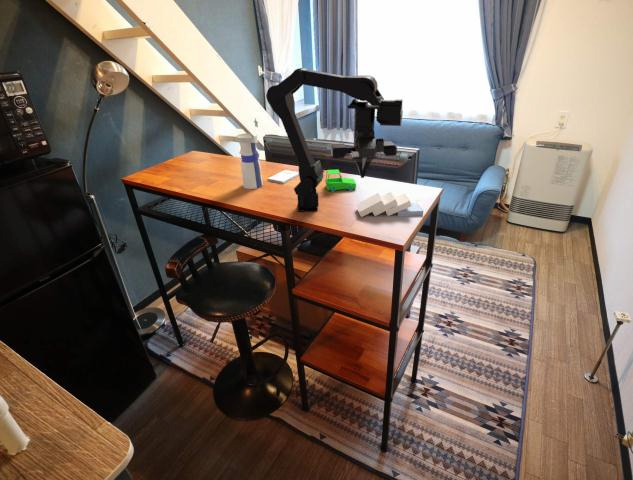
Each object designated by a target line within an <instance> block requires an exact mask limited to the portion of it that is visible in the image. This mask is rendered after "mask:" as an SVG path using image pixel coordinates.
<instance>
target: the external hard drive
mask: <svg viewBox="0 0 633 480" xmlns="http://www.w3.org/2000/svg"><path fill="white" fill-rule="evenodd" d="M297 177H299V171H294V170H289V169H285V170H282V171H280V172H278V173H276V174H273V175H272V176H269V177H268V178H267V179H266V180H267V182H272V183H277V184H281V185H284V184H286V183H288V182H290V181H292V180H293V179H295V178H297Z"/></svg>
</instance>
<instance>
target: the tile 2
mask: <svg viewBox="0 0 633 480" xmlns="http://www.w3.org/2000/svg"><path fill="white" fill-rule="evenodd" d="M380 198H381V200H382V202H383V204H384V206H382V207H380V208H378V209H377V210H375V211H373V212H372V214H373V215H374V217H377V216H379V215H380V214H382V213H384V212H385V211H386V210H388V209H390V208H392V207H394V206H396V205H398V204H397V201H396V199H395V197H394V195H393V194H392V192H391V191H390V192H388V193H386V194H384V195H383V196H380Z"/></svg>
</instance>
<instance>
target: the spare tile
mask: <svg viewBox="0 0 633 480" xmlns="http://www.w3.org/2000/svg"><path fill="white" fill-rule="evenodd" d="M411 205H412V206H411V207H409V208H406V209H404V210H401V211H399V212H397V213H396V215H397V216H398V217H401V216H402V217H404V216H405V217H407V216H409V217H410V216H424V209H423V207H422V206H421V205H420V204H419V203H418V202H412V203H411Z"/></svg>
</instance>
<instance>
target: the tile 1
mask: <svg viewBox="0 0 633 480" xmlns="http://www.w3.org/2000/svg"><path fill="white" fill-rule="evenodd" d="M380 197H381V196H380V195H379V192H376V193H375V194H373V195H371V196H368V197H367V198H366V199H363V200H362V201H360V202H358V203H356V204H355V205H356V209H357V212H358V213H359V215H360V217H361V218H363V217H364V216H367V215H369V214H370V213H373V211H375V210H377V209H378V208H380V207H382V206H384V204H383V202H382V200H381V198H380Z"/></svg>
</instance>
